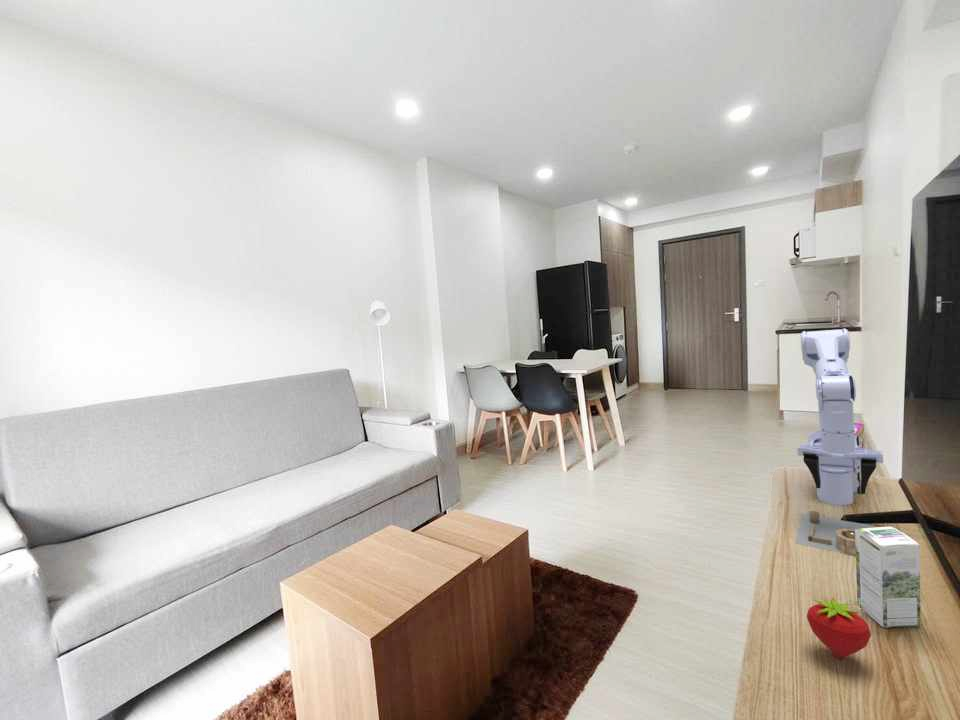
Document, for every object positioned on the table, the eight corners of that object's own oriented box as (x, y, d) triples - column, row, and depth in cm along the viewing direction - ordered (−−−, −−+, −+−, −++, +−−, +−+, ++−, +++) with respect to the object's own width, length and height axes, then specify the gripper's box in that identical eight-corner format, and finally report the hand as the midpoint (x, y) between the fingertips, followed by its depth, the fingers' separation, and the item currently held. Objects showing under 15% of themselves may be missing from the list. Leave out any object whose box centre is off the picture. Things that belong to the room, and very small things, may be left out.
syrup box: (892, 603, 76) (889, 524, 75) (923, 628, 71) (920, 542, 69) (856, 605, 77) (853, 526, 76) (884, 630, 71) (880, 544, 70)
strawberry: (871, 682, 63) (868, 616, 62) (805, 658, 68) (802, 597, 67) (873, 655, 67) (870, 593, 66) (811, 635, 72) (808, 577, 71)
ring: (837, 540, 95) (836, 526, 95) (869, 545, 92) (868, 532, 91) (836, 551, 91) (835, 537, 91) (868, 558, 88) (868, 543, 88)
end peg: (847, 545, 93) (846, 529, 92) (858, 547, 92) (857, 531, 91) (846, 549, 91) (846, 533, 91) (858, 551, 90) (857, 535, 90)
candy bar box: (861, 496, 113) (859, 434, 112) (836, 492, 117) (833, 432, 115) (867, 481, 121) (864, 422, 119) (843, 478, 124) (840, 421, 123)
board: (803, 517, 107) (802, 505, 107) (875, 529, 99) (874, 516, 98) (795, 546, 96) (794, 533, 96) (875, 562, 87) (875, 548, 87)
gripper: (794, 432, 99) (797, 490, 100) (882, 437, 89) (884, 502, 90) (798, 423, 104) (801, 479, 105) (881, 428, 94) (884, 489, 96)
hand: (840, 489), depth 98 cm, fingers open, 7 cm apart
